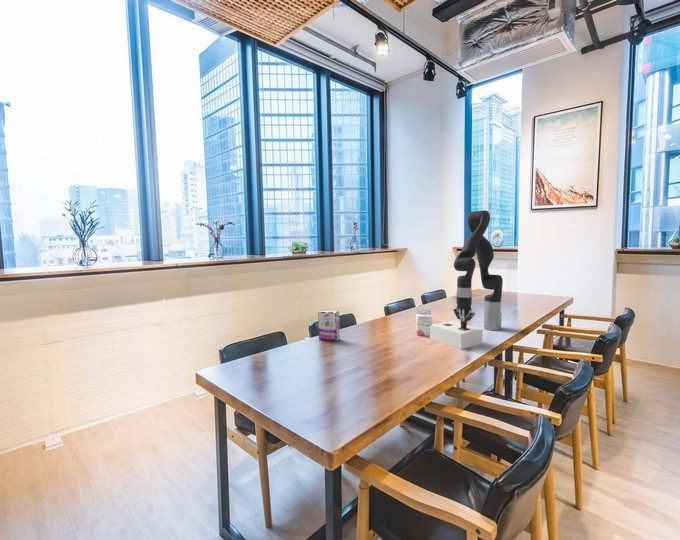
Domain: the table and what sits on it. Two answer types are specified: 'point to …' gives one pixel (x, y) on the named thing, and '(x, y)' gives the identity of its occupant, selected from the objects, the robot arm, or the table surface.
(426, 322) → the ink cartridge box
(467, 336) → the housing
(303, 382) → the table surface
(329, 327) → the candy bar box
